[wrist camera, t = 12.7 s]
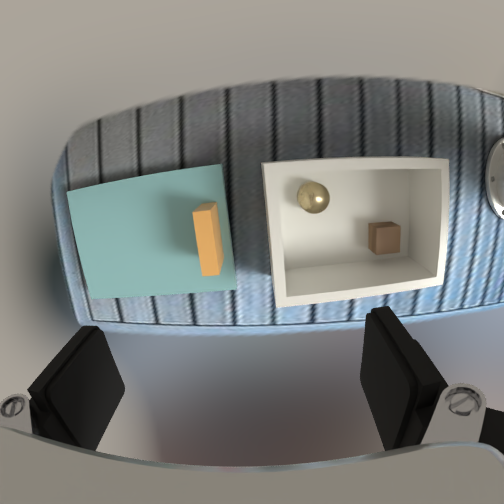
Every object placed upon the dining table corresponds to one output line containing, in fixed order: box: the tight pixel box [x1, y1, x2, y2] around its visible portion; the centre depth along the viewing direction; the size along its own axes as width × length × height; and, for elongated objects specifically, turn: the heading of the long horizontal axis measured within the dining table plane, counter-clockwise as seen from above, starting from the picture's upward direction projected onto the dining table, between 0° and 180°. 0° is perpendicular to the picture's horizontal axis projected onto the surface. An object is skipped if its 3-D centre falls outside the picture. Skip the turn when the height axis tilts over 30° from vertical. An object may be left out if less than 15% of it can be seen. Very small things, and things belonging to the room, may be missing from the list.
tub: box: [261, 156, 449, 308], centre depth 30 cm, size 18×13×8 cm
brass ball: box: [297, 181, 330, 214], centre depth 31 cm, size 3×3×2 cm
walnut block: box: [368, 221, 401, 255], centre depth 32 cm, size 3×3×2 cm
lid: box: [67, 164, 237, 299], centre depth 31 cm, size 19×14×8 cm
